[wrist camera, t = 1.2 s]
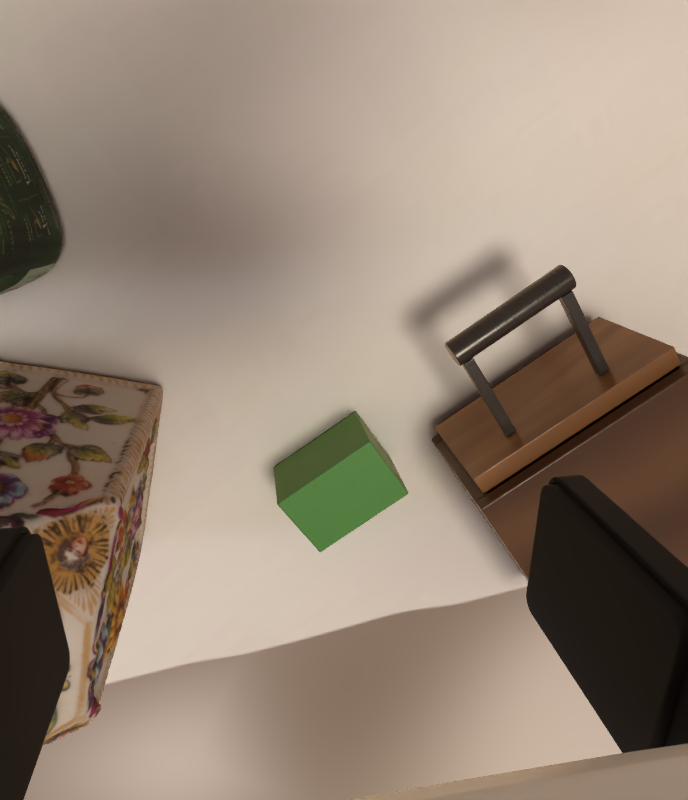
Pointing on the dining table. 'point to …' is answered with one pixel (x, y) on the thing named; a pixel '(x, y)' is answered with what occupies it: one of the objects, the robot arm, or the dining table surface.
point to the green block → (337, 482)
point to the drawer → (546, 383)
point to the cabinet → (606, 471)
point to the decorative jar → (80, 505)
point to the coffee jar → (24, 214)
